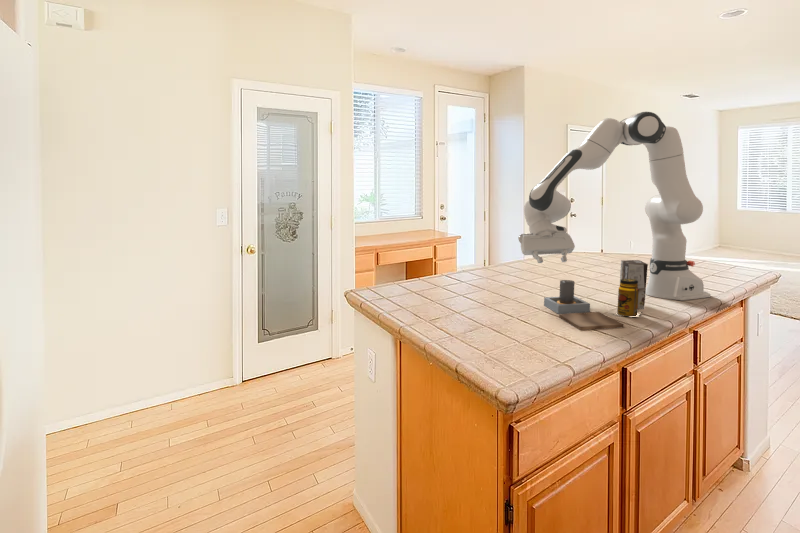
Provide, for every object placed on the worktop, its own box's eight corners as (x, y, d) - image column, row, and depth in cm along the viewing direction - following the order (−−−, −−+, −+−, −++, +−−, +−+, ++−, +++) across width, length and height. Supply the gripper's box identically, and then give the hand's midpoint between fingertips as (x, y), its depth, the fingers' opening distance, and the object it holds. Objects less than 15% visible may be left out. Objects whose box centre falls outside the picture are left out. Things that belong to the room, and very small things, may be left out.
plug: (570, 305, 161) (571, 279, 159) (579, 310, 155) (580, 282, 153) (553, 306, 160) (554, 279, 159) (561, 311, 154) (562, 283, 152)
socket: (573, 303, 164) (573, 295, 163) (589, 312, 153) (590, 303, 152) (543, 305, 163) (544, 297, 162) (558, 314, 151) (558, 305, 151)
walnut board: (598, 314, 149) (598, 311, 149) (623, 327, 136) (623, 324, 136) (558, 316, 148) (559, 314, 148) (580, 330, 134) (580, 326, 134)
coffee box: (645, 309, 154) (648, 264, 151) (625, 309, 155) (628, 263, 152) (636, 302, 163) (639, 259, 160) (618, 302, 164) (620, 259, 161)
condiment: (613, 315, 149) (615, 280, 147) (619, 309, 155) (622, 276, 153) (637, 318, 144) (639, 283, 142) (643, 312, 150) (645, 278, 148)
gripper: (519, 229, 171) (528, 258, 163) (569, 227, 173) (581, 255, 165) (515, 239, 176) (523, 267, 168) (564, 237, 178) (575, 265, 170)
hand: (552, 261), depth 167 cm, fingers open, 8 cm apart
